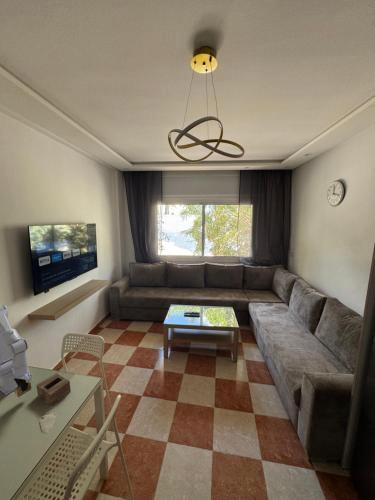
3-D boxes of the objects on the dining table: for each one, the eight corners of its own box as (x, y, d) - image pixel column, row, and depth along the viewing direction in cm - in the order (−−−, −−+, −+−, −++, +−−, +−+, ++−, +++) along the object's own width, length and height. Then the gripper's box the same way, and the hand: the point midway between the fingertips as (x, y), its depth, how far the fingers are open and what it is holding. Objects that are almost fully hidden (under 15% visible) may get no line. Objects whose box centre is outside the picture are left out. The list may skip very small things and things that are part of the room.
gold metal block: (15, 395, 110) (14, 388, 109) (28, 387, 115) (27, 380, 114) (17, 397, 108) (16, 390, 108) (31, 389, 114) (30, 382, 113)
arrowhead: (57, 408, 105) (55, 428, 97) (57, 411, 106) (56, 432, 97) (40, 414, 102) (37, 436, 94) (40, 417, 103) (37, 439, 94)
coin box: (37, 395, 115) (36, 385, 114) (57, 382, 123) (56, 373, 122) (51, 405, 109) (50, 394, 108) (70, 391, 118) (69, 381, 116)
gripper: (3, 364, 109) (6, 388, 111) (18, 374, 102) (21, 400, 104) (19, 356, 115) (22, 379, 117) (34, 365, 108) (37, 390, 110)
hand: (23, 388), depth 111 cm, fingers closed on gold metal block, 2 cm apart
